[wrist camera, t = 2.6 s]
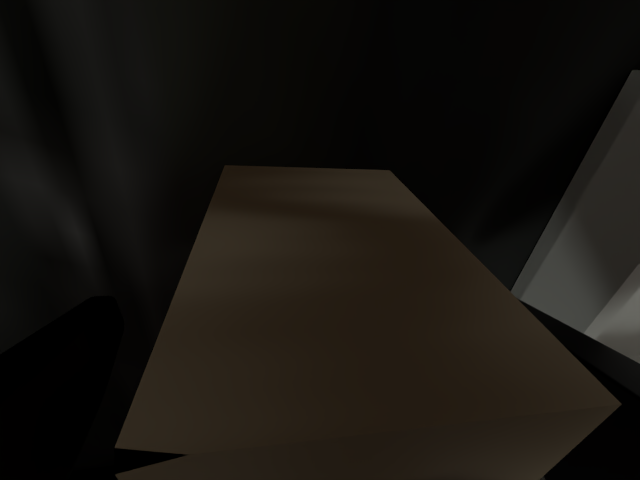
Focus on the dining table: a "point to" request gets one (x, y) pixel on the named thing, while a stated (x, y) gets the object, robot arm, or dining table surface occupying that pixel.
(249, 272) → the brown block
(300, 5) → the dining table surface
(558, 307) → the housing tray
